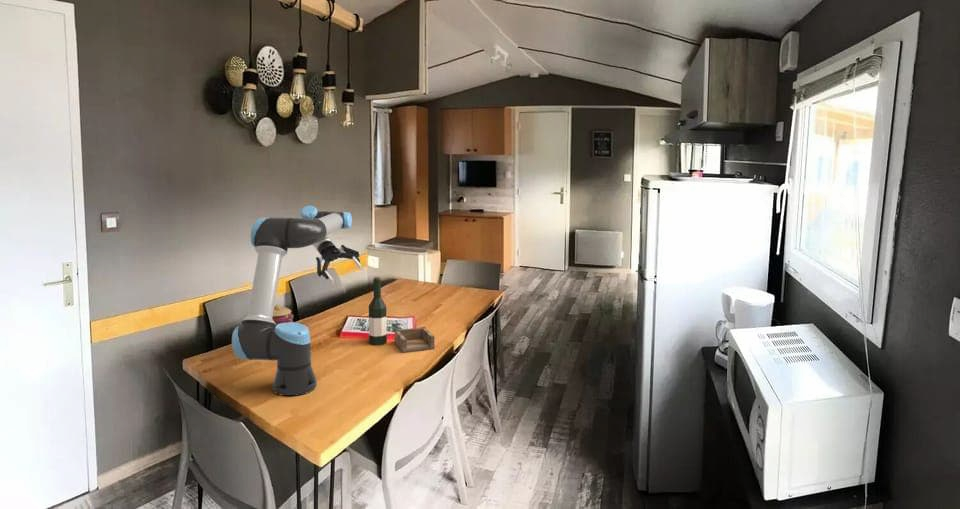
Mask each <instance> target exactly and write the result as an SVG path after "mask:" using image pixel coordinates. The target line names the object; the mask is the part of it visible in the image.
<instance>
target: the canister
mask: <svg viewBox="0 0 960 509" xmlns="http://www.w3.org/2000/svg"><path fill="white" fill-rule="evenodd" d="M272 319H273V321H274V322H275V323H276V326H277V325H278V324H280V323H288V322H293V323H295V322H294V321H293V319H294V314H292V310H291V309H290V308H288V307H284V306H281V305H280V304H279V303H275V305H274V311H273V317H272ZM276 326H275V327H276Z"/></svg>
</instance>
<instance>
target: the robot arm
mask: <svg viewBox="0 0 960 509" xmlns="http://www.w3.org/2000/svg"><path fill="white" fill-rule="evenodd" d="M299 213H300V217H273V216H267V217H260V218H258V219H257V220H255V222H254V223H253V225H252V226H251V230H250V237H251V238H250V242H251V245H252V246H253V247H254V250H255V252H256V253H257V258H256V259H257V260H256V265H255V269H254V270H255V271H254V275H253V281H252V287H251V294H250V299H249V304H248V310H247V315H246V317H244V318H243V319H242V320H241V324H240V325H239V326H236V327H235V328H234V330H233V331H232V334H231V347H232V350H233V352H234V355H235V356H236V357H237V358H238V359H241V360H248V361H252V360H253V361H257V360H258V361H276V372H275V376H274V378H273V382H272V391H273V390H274V391H273V393H275V392H276V393H278V394H282V395H296V394H302V393H306V392H309V391H311V390H313V389H314V388H315V387H316V386H318V383H317V382H318V380H317V377H316V375H315V372H314V369H313V367H312V357H311V356H312V352H311V334H310V329H309V327H307V326H306V324H305V325H304V324H302V323H298V322H294V321H293V322H294V323H293V322H288V323H280V324H278V325H277V326H276V323H275V322H274V321H273V319H272V317H273V311H274V307H275V305H276V297H277V293H278V292H277V291H278V285H279V279H280V273H281V266H282V260H283V257H285V256H287V254H288V250H289V249H302V248H307V247H310V246H313V247H314V248H315V250H316V251H317V252H318V254H319V255H320V257H319V256H316V257H315V260H316V273H317V276H318V277H321V276H322V277H324V278H325V280H329V281H330V282H331V284H332V285H335V280H334V278H333V277H332V276H331V274H330V273H329V272H328V268H329V265H330V263H331V262H334V261H335V260H338V259H348V260H353V261H352V262H354V263H355V265H356V266H357V268H358V269H359V270H363V267H362V264H361V260H360V259H359V257H360V253H359V251H358V250H354V249H352V248H349V247H348V246H345V245H344V244H341V245H340V247H337V246H336V245H335V244H334V242H333V241H332V240H331V239H330V238H329V237H328V235H329V234H332V233H334V232H336V231H338V230H340V229H343V230H345V229H346V230H347V229H350V228H352V224H353V217H352V214H351V213H350V212H349V211H323V210H321V211H320V210H318V209H317V208H316V207H315V206H313V205H307V206H304V207H302V208H301V210H300V212H299ZM322 261H324V263H323V262H322ZM322 263H323V266H322ZM275 326H276V327H275ZM316 388H317V387H316ZM316 388H315V389H316ZM315 389H314V390H315ZM314 390H313V391H314ZM311 392H312V391H311ZM276 393H275V394H276ZM309 393H310V392H309ZM278 394H277V395H278ZM306 394H307V393H306ZM282 395H281V396H282ZM302 395H303V394H302Z"/></svg>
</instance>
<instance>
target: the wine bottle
mask: <svg viewBox="0 0 960 509" xmlns="http://www.w3.org/2000/svg"><path fill="white" fill-rule="evenodd" d="M372 282H373V287H372V288H373V298H372V299H371V301H370V303H369V305H368V338H369V339H368V344H369V345H372V346H383V345H385V344H387V342H388V341H387V339H388V337H387V335H388V331H387V304H386V303H385V301H384V299H383V298H382V290H381V289H382V286H381V284H382V283H381V282H382V280H381V277H380V276H374V277H373V281H372Z"/></svg>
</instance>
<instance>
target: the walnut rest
mask: <svg viewBox="0 0 960 509" xmlns="http://www.w3.org/2000/svg"><path fill="white" fill-rule="evenodd" d="M394 344H395V345H396V346H397V347H398V348H399V349H400V351H401V352H402V353H403V354H407V353H414V352H415V353H416V352H423V351H429V350H435V335H434V334H433V333H432V332H430V330H429V329H428V328H426V327H425V326H423V327H412V328H406V329H405V328H403V329H395V330H394Z"/></svg>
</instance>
